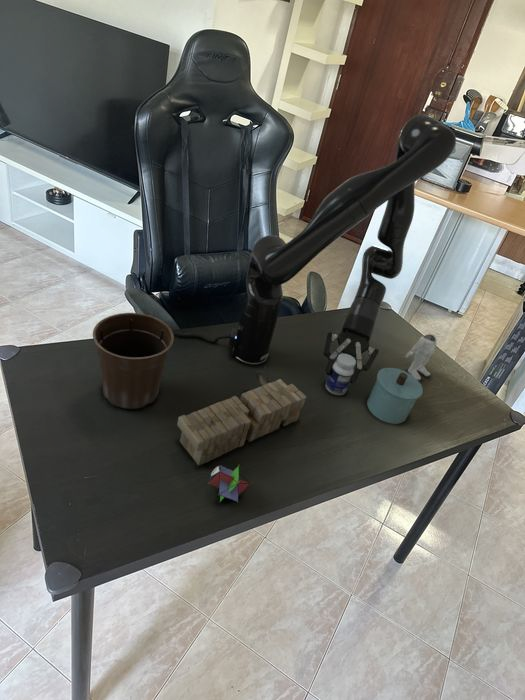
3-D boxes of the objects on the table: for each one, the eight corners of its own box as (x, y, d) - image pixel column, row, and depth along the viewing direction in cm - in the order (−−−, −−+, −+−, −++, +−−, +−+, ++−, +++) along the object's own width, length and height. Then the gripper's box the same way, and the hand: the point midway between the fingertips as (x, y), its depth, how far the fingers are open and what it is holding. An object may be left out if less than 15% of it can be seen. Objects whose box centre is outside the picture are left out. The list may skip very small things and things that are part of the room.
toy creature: (411, 384, 136) (428, 350, 129) (395, 371, 139) (411, 337, 133) (436, 374, 143) (454, 341, 136) (420, 361, 146) (437, 329, 139)
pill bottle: (323, 380, 129) (334, 350, 123) (343, 382, 130) (355, 353, 124) (327, 394, 124) (338, 364, 118) (348, 397, 125) (360, 367, 119)
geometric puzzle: (255, 476, 95) (237, 451, 91) (255, 505, 90) (236, 480, 86) (223, 486, 97) (203, 462, 93) (221, 516, 92) (200, 491, 87)
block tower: (276, 402, 118) (172, 442, 100) (285, 376, 114) (177, 413, 96) (297, 424, 114) (192, 469, 96) (307, 397, 109) (199, 440, 91)
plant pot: (89, 416, 101) (89, 356, 92) (94, 367, 114) (95, 309, 105) (167, 417, 106) (175, 360, 97) (164, 369, 118) (171, 314, 109)
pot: (368, 420, 120) (384, 385, 113) (362, 390, 129) (377, 356, 122) (412, 429, 120) (431, 395, 114) (404, 398, 130) (421, 365, 123)
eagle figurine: (287, 390, 120) (255, 373, 120) (293, 383, 113) (259, 365, 114) (273, 417, 117) (241, 399, 118) (278, 411, 111) (244, 392, 111)
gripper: (336, 305, 123) (313, 366, 120) (391, 324, 121) (368, 387, 118) (334, 313, 130) (312, 371, 127) (385, 331, 128) (364, 390, 125)
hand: (339, 378), depth 123 cm, fingers closed on pill bottle, 5 cm apart
